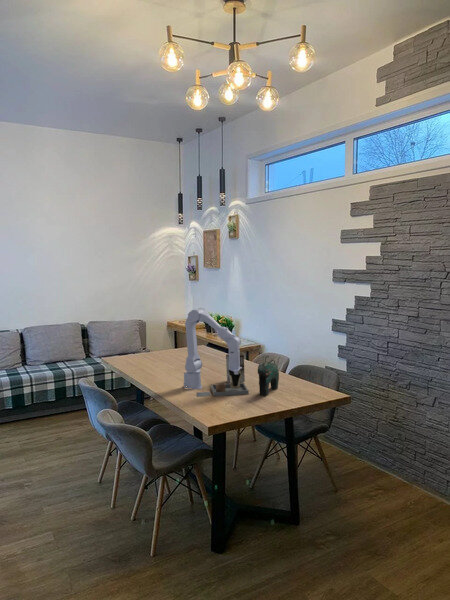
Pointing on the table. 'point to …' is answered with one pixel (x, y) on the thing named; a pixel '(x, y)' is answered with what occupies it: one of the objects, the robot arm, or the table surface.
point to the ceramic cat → (268, 376)
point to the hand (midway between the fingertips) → (234, 384)
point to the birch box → (232, 383)
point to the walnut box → (220, 387)
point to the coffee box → (242, 376)
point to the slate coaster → (203, 394)
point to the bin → (230, 390)
